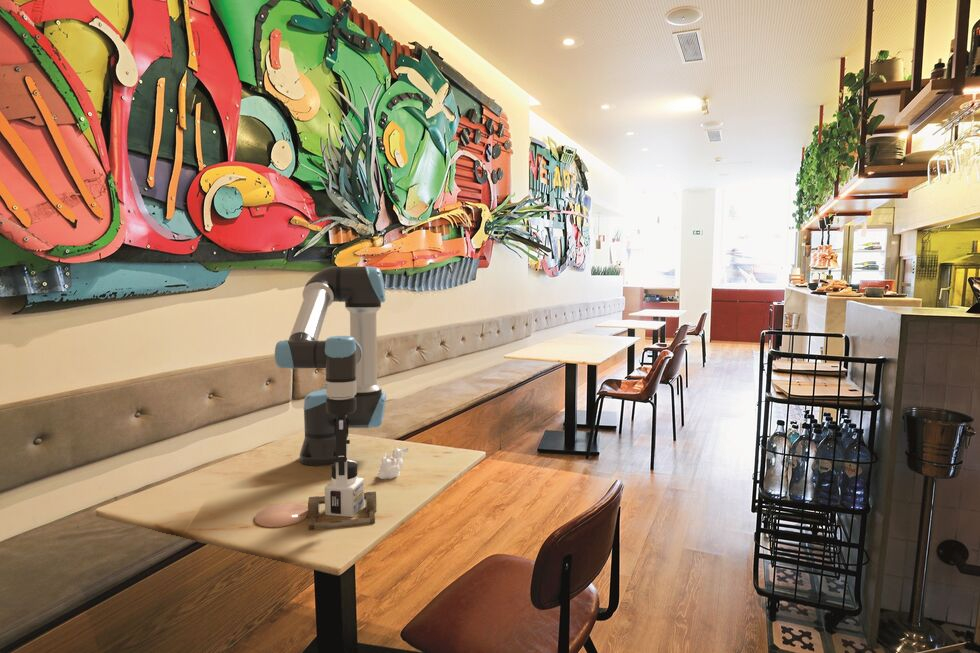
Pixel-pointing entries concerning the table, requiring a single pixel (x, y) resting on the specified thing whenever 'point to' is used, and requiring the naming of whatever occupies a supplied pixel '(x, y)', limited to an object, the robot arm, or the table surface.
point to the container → (345, 493)
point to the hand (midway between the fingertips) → (342, 477)
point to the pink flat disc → (281, 515)
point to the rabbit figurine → (392, 464)
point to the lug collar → (314, 513)
